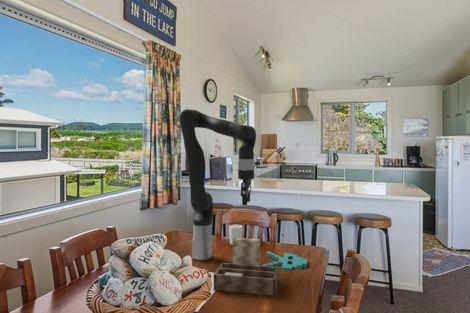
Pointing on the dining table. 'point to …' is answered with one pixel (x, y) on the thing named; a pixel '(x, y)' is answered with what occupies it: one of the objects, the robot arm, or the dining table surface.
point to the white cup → (235, 232)
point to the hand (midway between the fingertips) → (246, 203)
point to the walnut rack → (247, 279)
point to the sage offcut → (234, 274)
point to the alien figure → (287, 261)
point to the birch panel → (246, 251)
